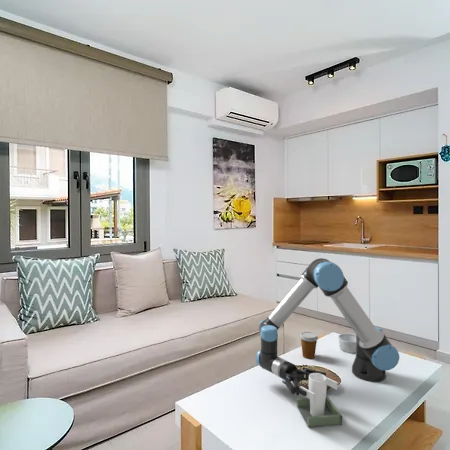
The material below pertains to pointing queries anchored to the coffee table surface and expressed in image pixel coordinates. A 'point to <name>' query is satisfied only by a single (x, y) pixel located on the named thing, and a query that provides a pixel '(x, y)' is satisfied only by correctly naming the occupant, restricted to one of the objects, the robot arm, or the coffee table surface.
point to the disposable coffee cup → (308, 344)
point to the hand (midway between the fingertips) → (326, 391)
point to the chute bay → (329, 419)
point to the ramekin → (347, 342)
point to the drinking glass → (318, 393)
